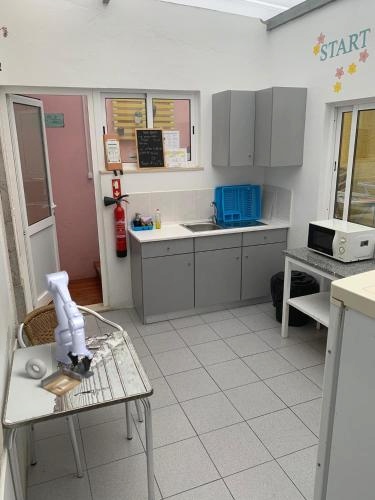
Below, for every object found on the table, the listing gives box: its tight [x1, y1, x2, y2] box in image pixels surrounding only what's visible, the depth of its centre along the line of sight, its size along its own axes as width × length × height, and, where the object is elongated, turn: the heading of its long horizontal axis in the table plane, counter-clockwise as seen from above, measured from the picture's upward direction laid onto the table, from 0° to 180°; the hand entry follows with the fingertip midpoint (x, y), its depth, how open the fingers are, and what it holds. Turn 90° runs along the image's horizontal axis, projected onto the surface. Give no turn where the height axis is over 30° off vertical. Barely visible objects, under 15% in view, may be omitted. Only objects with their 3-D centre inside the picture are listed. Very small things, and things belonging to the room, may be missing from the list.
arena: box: [40, 366, 83, 397], centre depth 168 cm, size 12×12×4 cm
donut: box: [24, 357, 48, 379], centre depth 173 cm, size 10×4×10 cm, turn 81°
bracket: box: [76, 360, 95, 380], centre depth 175 cm, size 6×4×6 cm, turn 57°
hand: (81, 368), depth 176 cm, fingers open, 7 cm apart
